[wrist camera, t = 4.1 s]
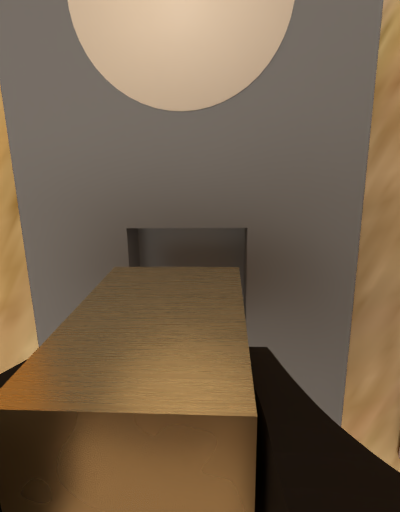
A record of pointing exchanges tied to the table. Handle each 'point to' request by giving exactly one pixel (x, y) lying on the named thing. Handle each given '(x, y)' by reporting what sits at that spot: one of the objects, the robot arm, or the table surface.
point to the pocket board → (198, 156)
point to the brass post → (136, 401)
